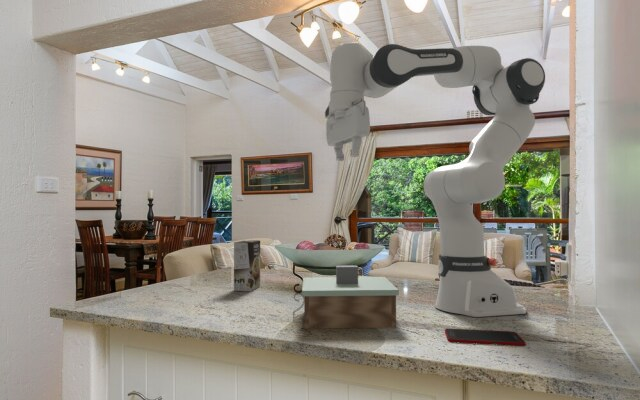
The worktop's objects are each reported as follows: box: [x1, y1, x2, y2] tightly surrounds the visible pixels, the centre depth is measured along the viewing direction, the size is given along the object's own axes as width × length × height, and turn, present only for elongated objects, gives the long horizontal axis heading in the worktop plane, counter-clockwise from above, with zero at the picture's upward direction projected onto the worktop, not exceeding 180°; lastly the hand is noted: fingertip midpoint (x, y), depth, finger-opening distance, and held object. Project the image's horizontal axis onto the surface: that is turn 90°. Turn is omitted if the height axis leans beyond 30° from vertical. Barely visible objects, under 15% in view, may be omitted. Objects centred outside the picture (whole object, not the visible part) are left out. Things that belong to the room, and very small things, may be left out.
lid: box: [301, 264, 400, 297], centre depth 98 cm, size 21×17×6 cm
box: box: [303, 295, 397, 329], centre depth 98 cm, size 20×16×8 cm
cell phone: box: [444, 328, 526, 347], centre depth 85 cm, size 8×15×1 cm, turn 79°
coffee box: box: [233, 239, 261, 292], centre depth 139 cm, size 9×6×16 cm
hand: (347, 158), depth 107 cm, fingers open, 8 cm apart
